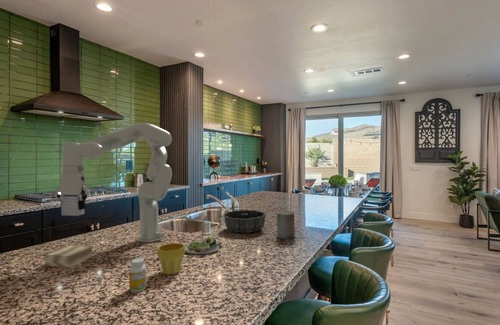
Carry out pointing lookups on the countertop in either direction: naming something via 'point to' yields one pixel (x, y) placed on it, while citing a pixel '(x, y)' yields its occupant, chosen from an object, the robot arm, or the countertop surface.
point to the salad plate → (203, 246)
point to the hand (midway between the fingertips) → (72, 208)
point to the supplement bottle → (137, 275)
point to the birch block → (68, 256)
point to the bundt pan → (244, 220)
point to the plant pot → (171, 257)
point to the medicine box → (70, 205)
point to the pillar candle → (285, 224)
